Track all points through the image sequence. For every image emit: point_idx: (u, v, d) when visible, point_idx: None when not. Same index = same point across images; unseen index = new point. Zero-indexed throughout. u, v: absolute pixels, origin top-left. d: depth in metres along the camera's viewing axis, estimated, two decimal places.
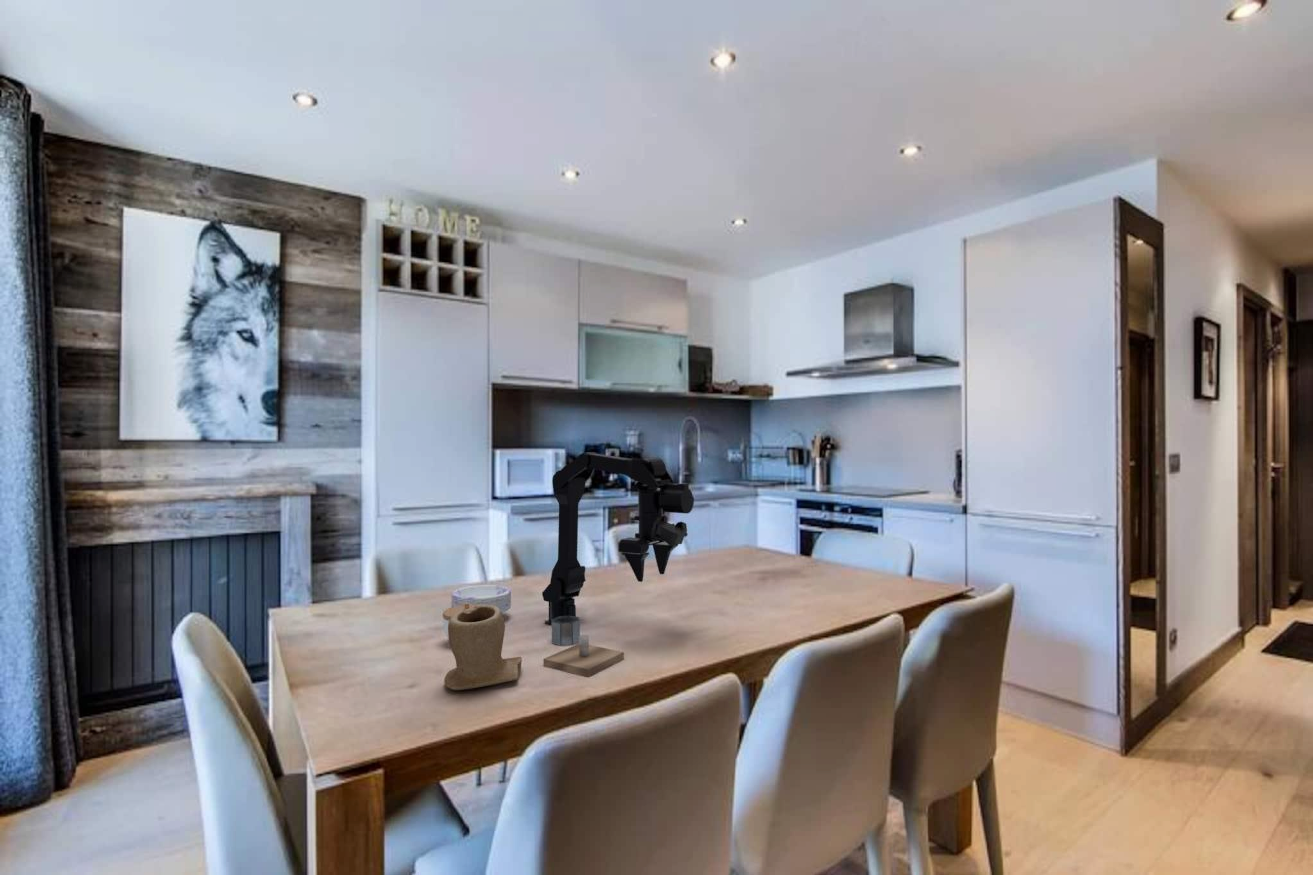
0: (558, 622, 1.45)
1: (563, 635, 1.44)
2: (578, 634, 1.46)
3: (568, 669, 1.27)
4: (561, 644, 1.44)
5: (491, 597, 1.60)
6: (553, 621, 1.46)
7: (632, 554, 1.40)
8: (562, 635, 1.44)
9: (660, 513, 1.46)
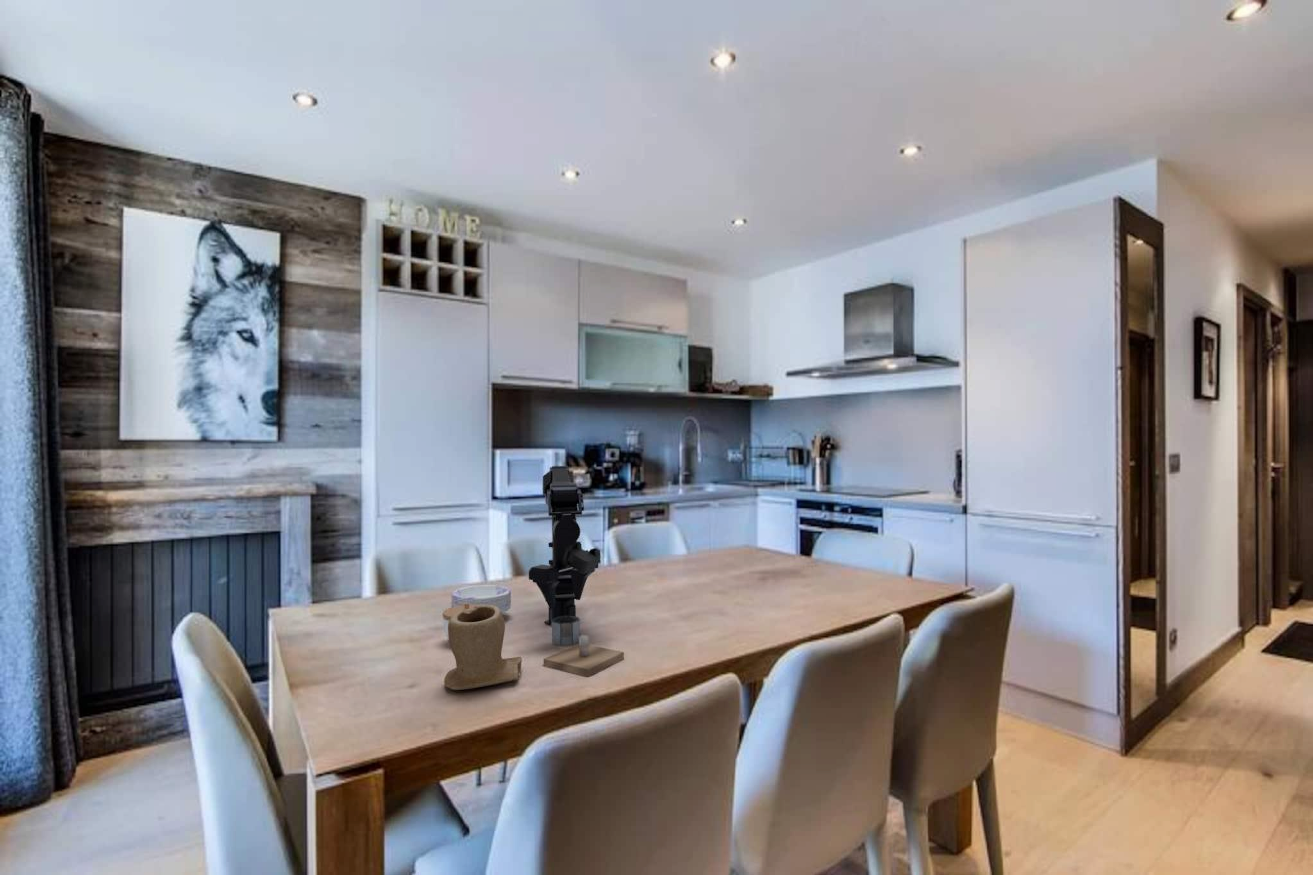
0: (558, 622, 1.45)
1: (563, 635, 1.44)
2: (578, 634, 1.46)
3: (568, 669, 1.27)
4: (561, 644, 1.44)
5: (491, 597, 1.60)
6: (553, 621, 1.46)
7: (542, 581, 1.41)
8: (562, 635, 1.44)
9: None
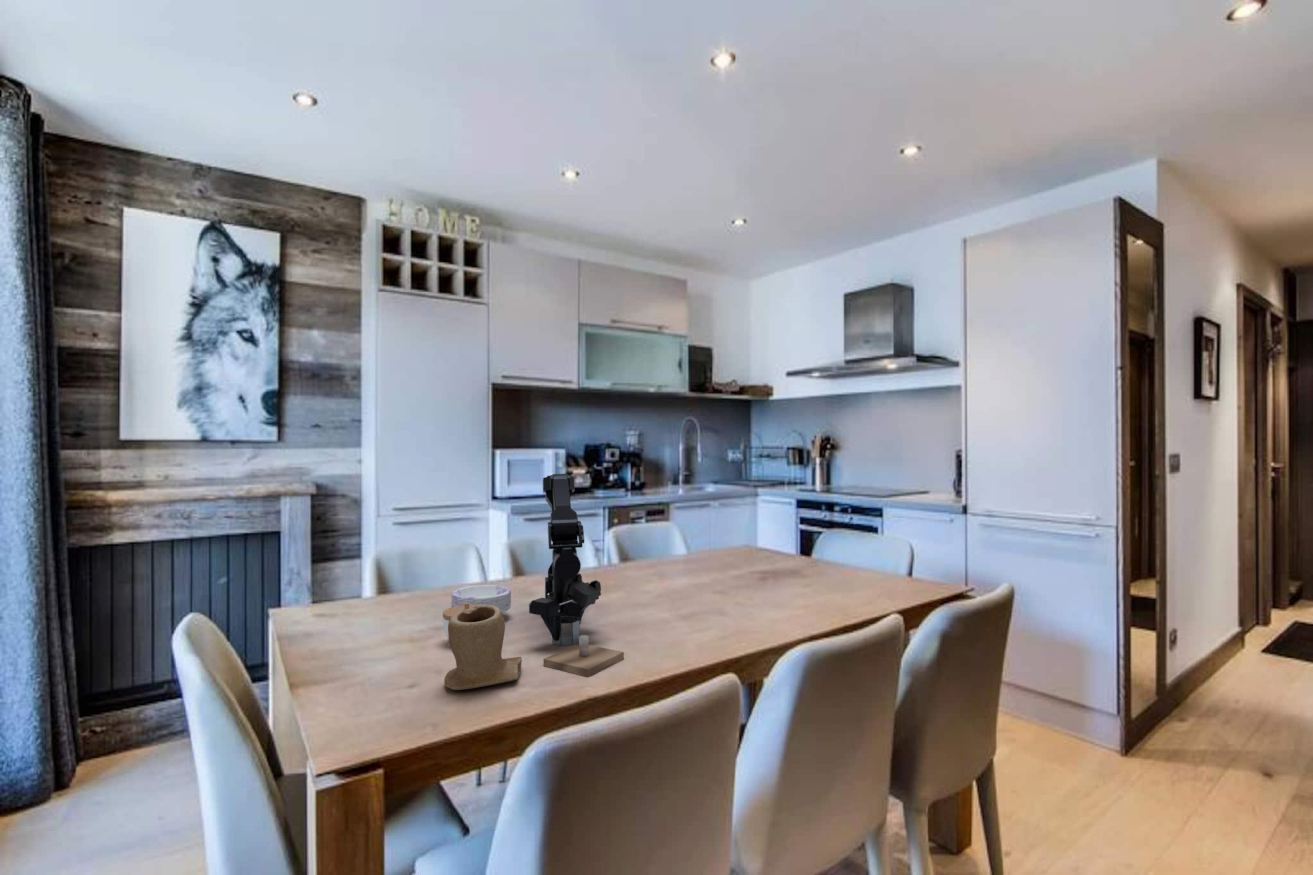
0: None
1: (563, 635, 1.44)
2: (578, 634, 1.46)
3: (568, 669, 1.27)
4: (561, 644, 1.44)
5: (491, 597, 1.60)
6: None
7: None
8: (562, 635, 1.44)
9: None
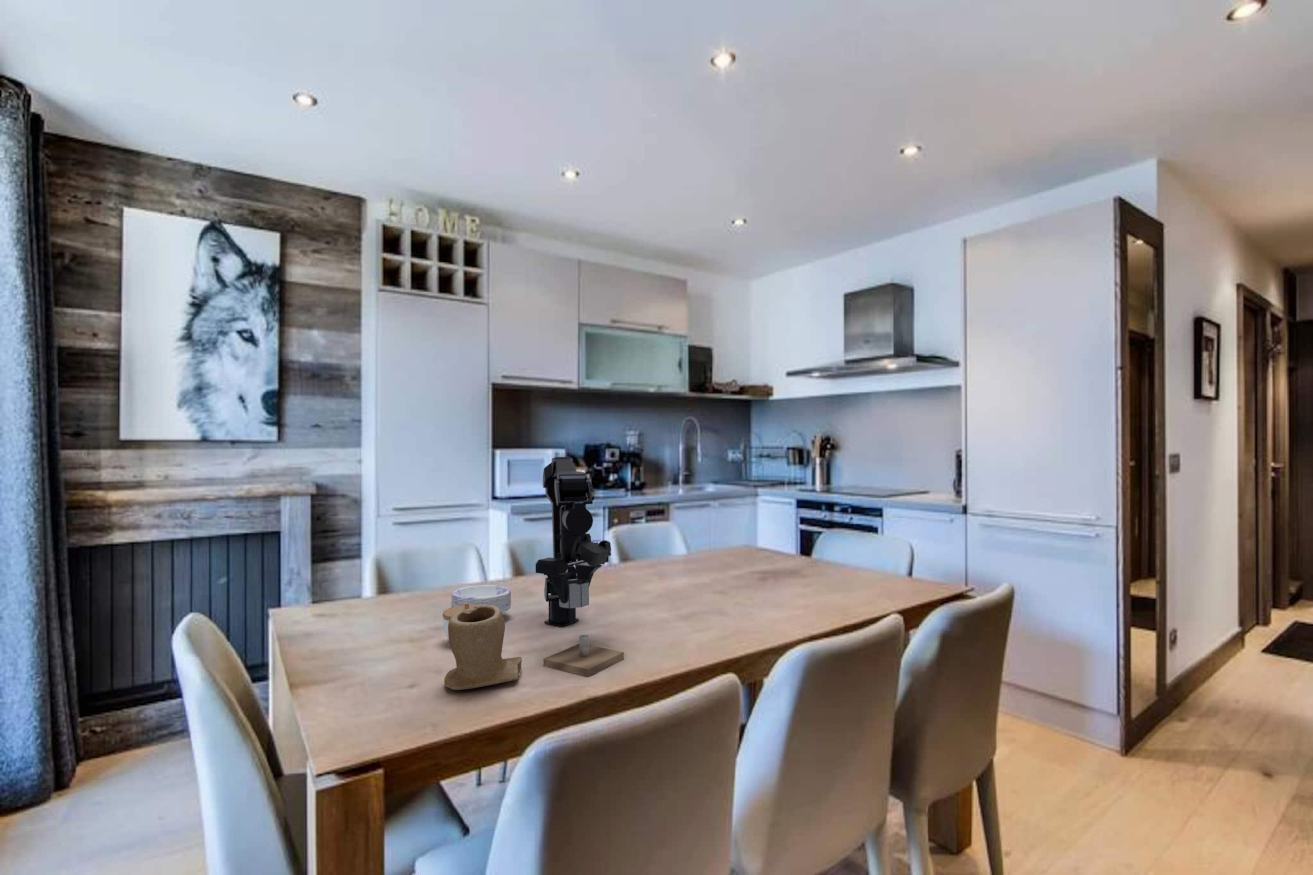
0: None
1: (571, 597, 1.36)
2: (587, 597, 1.38)
3: (568, 669, 1.27)
4: (569, 607, 1.36)
5: (491, 597, 1.60)
6: None
7: None
8: (570, 597, 1.36)
9: None
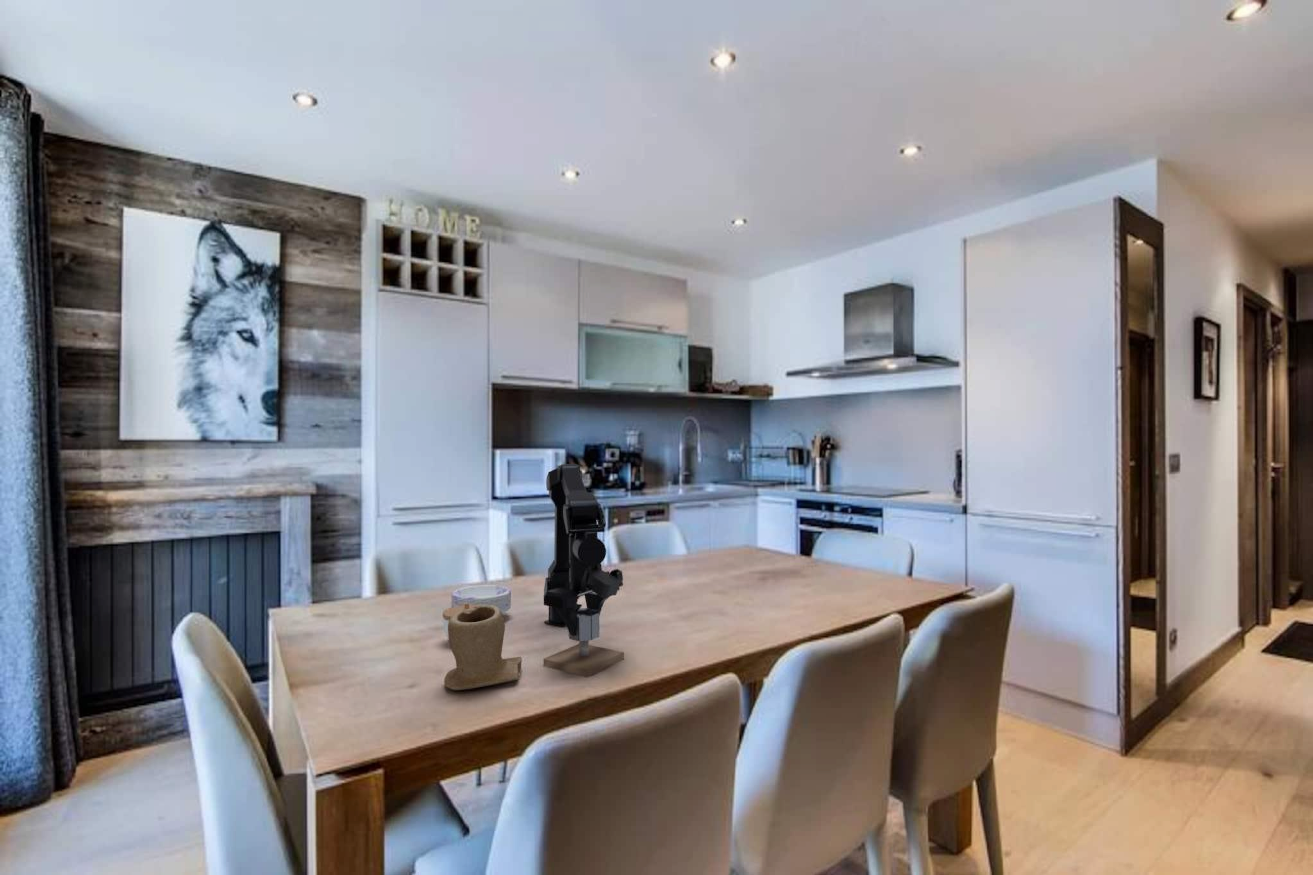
0: None
1: (581, 629, 1.30)
2: (598, 628, 1.32)
3: (568, 669, 1.27)
4: (579, 639, 1.29)
5: (491, 597, 1.60)
6: None
7: None
8: (580, 629, 1.30)
9: None
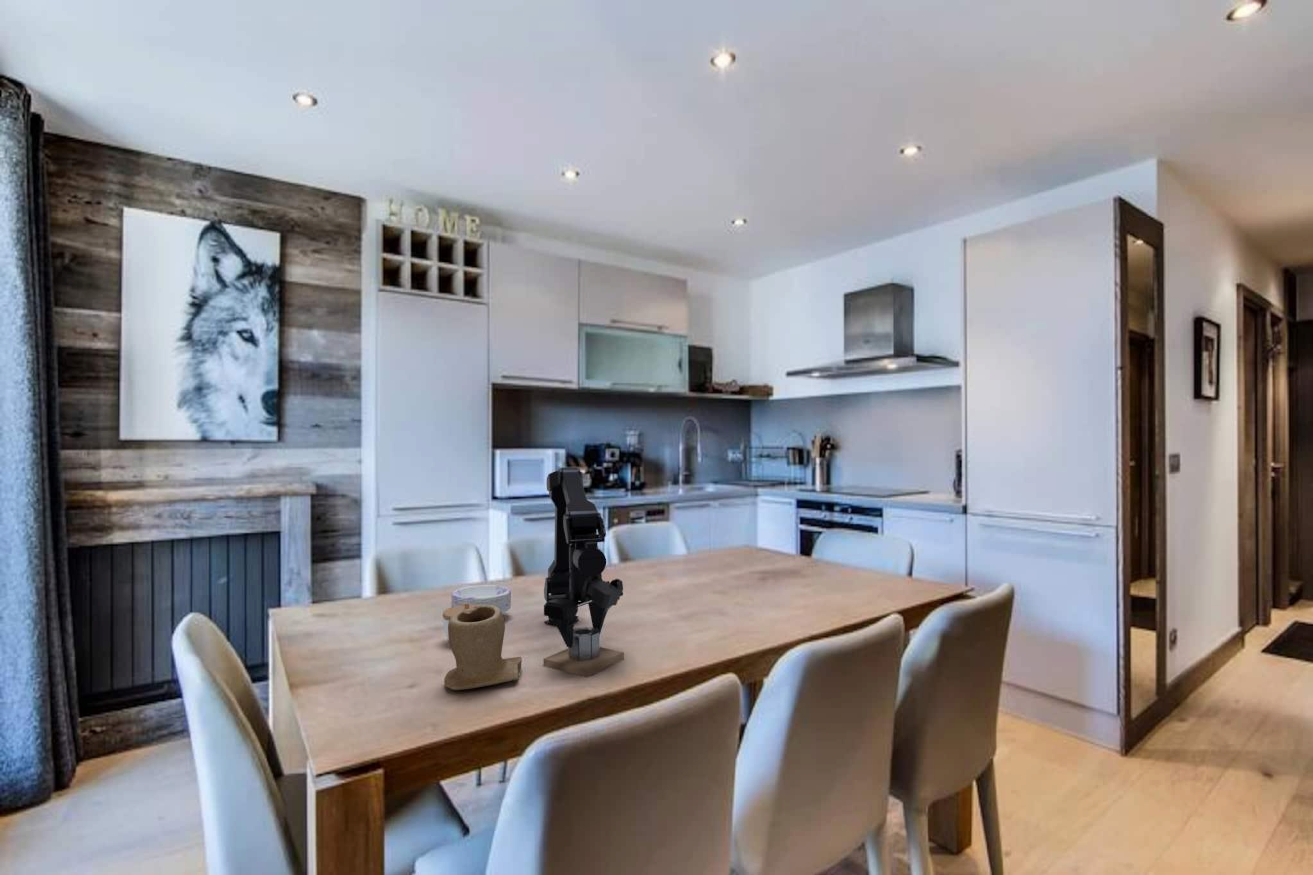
0: (575, 634, 1.31)
1: (581, 649, 1.30)
2: (598, 648, 1.32)
3: (568, 669, 1.27)
4: (579, 659, 1.29)
5: (491, 597, 1.60)
6: None
7: (558, 618, 1.26)
8: (580, 649, 1.30)
9: None
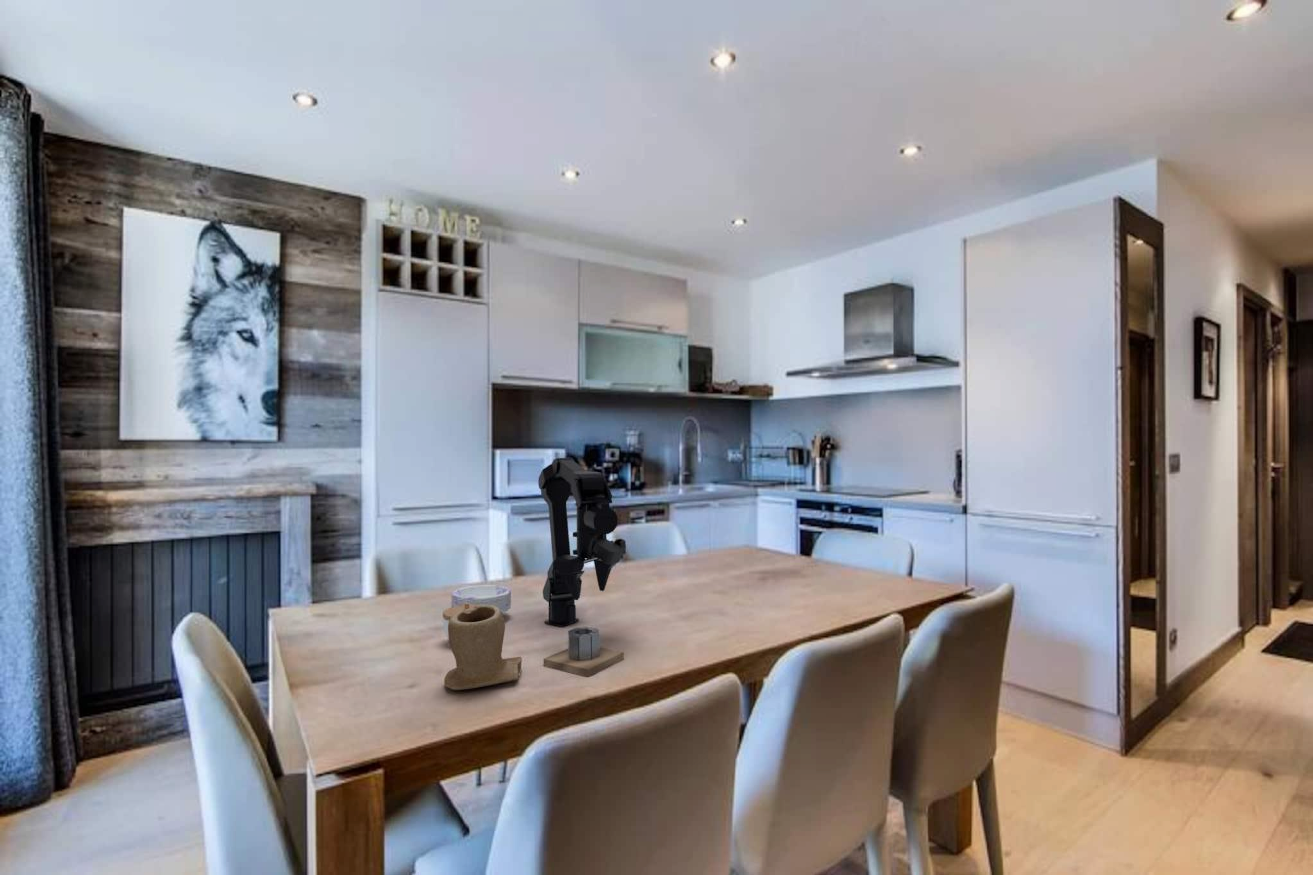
0: (575, 634, 1.31)
1: (581, 649, 1.30)
2: (598, 648, 1.32)
3: (568, 669, 1.27)
4: (579, 659, 1.29)
5: (491, 597, 1.60)
6: (570, 633, 1.32)
7: (566, 572, 1.37)
8: (580, 649, 1.30)
9: None
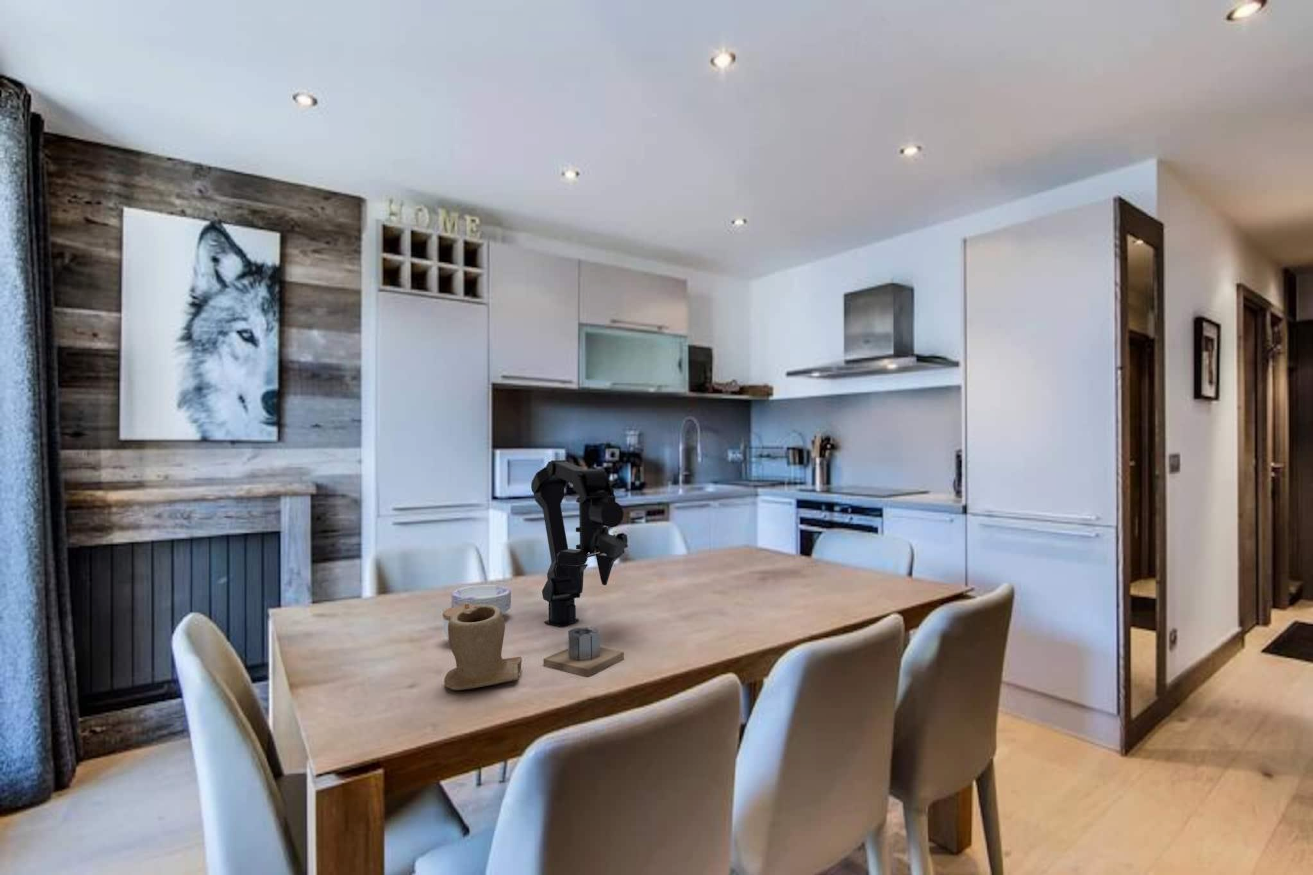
0: (575, 634, 1.31)
1: (581, 649, 1.30)
2: (598, 648, 1.32)
3: (568, 669, 1.27)
4: (579, 659, 1.29)
5: (491, 597, 1.60)
6: (570, 633, 1.32)
7: (570, 565, 1.41)
8: (580, 649, 1.30)
9: (600, 525, 1.47)
